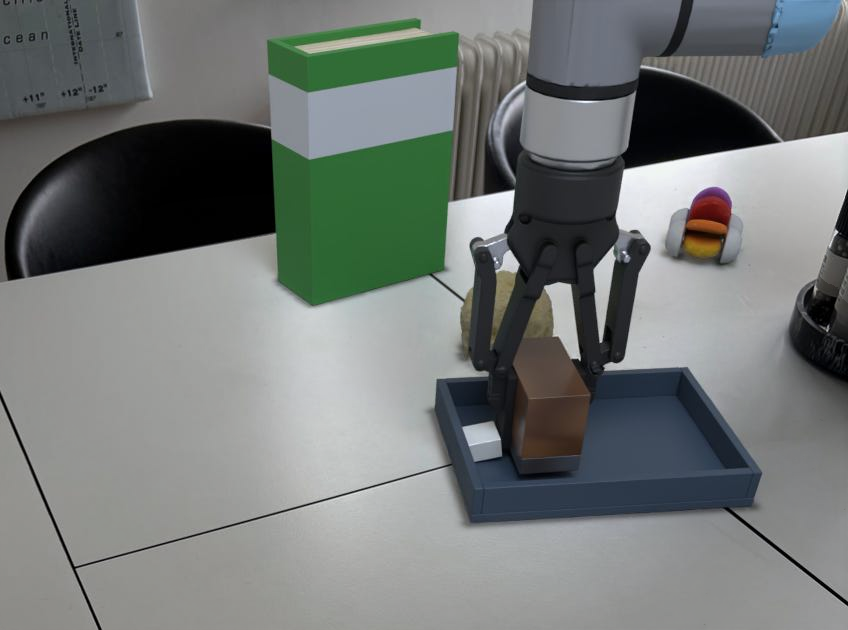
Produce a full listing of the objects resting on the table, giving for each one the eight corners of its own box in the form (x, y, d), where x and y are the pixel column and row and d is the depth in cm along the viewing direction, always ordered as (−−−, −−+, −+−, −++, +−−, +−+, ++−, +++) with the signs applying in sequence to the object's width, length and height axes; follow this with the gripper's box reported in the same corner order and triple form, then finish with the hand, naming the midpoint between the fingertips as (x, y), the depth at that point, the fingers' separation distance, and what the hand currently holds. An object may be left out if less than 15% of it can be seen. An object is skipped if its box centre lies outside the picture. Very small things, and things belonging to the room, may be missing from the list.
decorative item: (547, 396, 106) (583, 300, 104) (516, 374, 97) (555, 269, 95) (465, 372, 110) (499, 278, 108) (429, 348, 101) (465, 246, 99)
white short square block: (495, 438, 90) (493, 420, 89) (502, 456, 88) (501, 438, 87) (461, 444, 90) (459, 427, 89) (467, 463, 88) (465, 445, 87)
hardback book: (406, 247, 124) (415, 17, 107) (444, 269, 119) (459, 33, 103) (278, 281, 116) (266, 39, 100) (312, 305, 112) (306, 57, 96)
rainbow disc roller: (660, 263, 121) (673, 199, 117) (667, 232, 128) (680, 171, 123) (734, 273, 120) (751, 209, 115) (738, 241, 127) (754, 179, 122)
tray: (679, 398, 98) (687, 366, 96) (752, 506, 86) (763, 472, 83) (434, 410, 96) (436, 378, 94) (470, 523, 83) (474, 489, 81)
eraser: (548, 408, 93) (558, 335, 88) (578, 470, 86) (591, 394, 81) (494, 412, 93) (500, 339, 88) (519, 474, 85) (528, 398, 81)
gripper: (677, 130, 77) (624, 409, 93) (436, 139, 75) (424, 421, 91) (714, 164, 71) (651, 454, 87) (455, 175, 70) (438, 468, 85)
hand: (535, 437), depth 89 cm, fingers closed on eraser, 5 cm apart
